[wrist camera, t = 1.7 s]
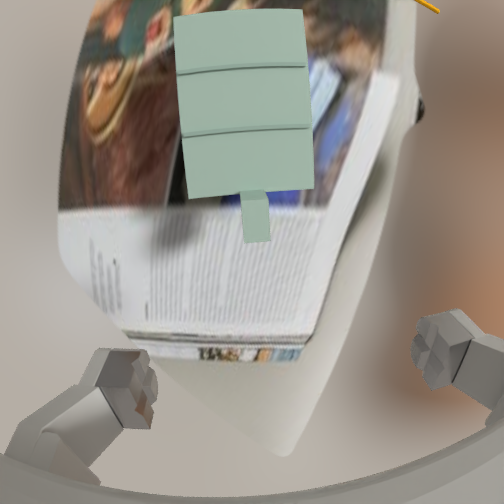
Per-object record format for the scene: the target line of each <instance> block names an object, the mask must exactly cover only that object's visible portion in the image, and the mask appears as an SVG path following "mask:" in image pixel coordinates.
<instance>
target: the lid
mask: <svg viewBox="0 0 504 504" xmlns="http://www.w3.org/2000/svg"><path fill="white" fill-rule="evenodd" d="M173 18H174V42H175V61H176V76H177V90H178V103H179V114H180V125H181V136H182V145H183V155H184V164H185V172H186V181H187V189H188V197H189V199H193V198H202V197H212V196H222V195H233V194H240V200H241V212H242V224H243V234H244V243H253V242H265V241H270V222H269V204H268V197H267V195H266V193H265V192H270V191H285V190H301V189H314V160H313V134H312V114H311V98H310V84H309V71H308V59H307V49H306V39H305V29H304V21H303V12H302V10H300V9H243V10H227V11H216V12H206V13H198V14H191V15H184V16H178V17H173Z"/></svg>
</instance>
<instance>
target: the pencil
mask: <svg viewBox="0 0 504 504" xmlns="http://www.w3.org/2000/svg"><path fill="white" fill-rule="evenodd" d="M415 1H416V2H418V3H420V4H421V5H423V6H425V7H427V8H429V9H430V10H432V11H433V12H435V13H437V14H438V13H439V11H440V10H439V9H438V8H436V7H434V6H433V5H431V4H429V3H427V2H426V1H424V0H415Z"/></svg>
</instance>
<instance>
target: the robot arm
mask: <svg viewBox="0 0 504 504" xmlns="http://www.w3.org/2000/svg"><path fill="white" fill-rule="evenodd" d="M416 330H417V332H418V334H417V335H416V337H415V338H414V339H413V340H412V344H411V357H412V360H413V363H414V364H415V366H416V367H417V368H419V369H421V370H423V378H424V380H425V381H426V383H427V384H428V386H429V387H430V389H431V391H432V390H435V389H438V388H441V387H444V386H447V385H450V384H452V385H453V386H454V387H456V388H457V389H459V390H460V391H462V392H464V393H465V394H467V395H468V396H470V397H471V398H473V399H475V400H476V401H478V402H479V403H481V404H482V405H484V406H485V407H487V408H489V409H490V410H492V412H491V413H490V415H489V416H488V418H487V419H486V422H485V425H486V426H487V427H486V428H484V429H482V430H480V431H478V432H477V433H475V434H473V435H471V436H469V437H467V438H465V439H463V440H461V441H459V442H457V443H455V444H453V445H451V446H449V447H446V448H444V449H442V450H440V451H437V452H435V453H433V454H430V455H428V456H425V457H423V458H421V459H418V460H415V461H413V462H410V463H407V464H404V465H402V466H399V467H396V468H393V469H390V470H387V471H384V472H380V473H377V474H374V475H370V476H367V477H364V478H359V479H356V480H352V481H347V482H343V483H339V484H335V485H330V486H325V487H320V488H315V489H308V490H303V491H296V492H289V493H281V494H271V495H260V496H247V497H181V496H167V495H157V494H148V493H139V492H133V491H126V490H120V489H114V488H109V487H104V486H100V483H101V481H100V480H99V478H98V477H97V476H96V475H95V474H94V473H93V472H92V471H91V470H90V469H89V468H88V467H89V466H90V465H91V464H92V463H93V462H94V461H95V460H96V459H97V458H98V457H99V456H100V455H101V453H102V452H103V451H104V450H105V449H106V448H107V447H108V446H109V445H110V444H111V443H112V442H113V440H114V439H115V438H116V437H117V436H118V435H119V434H120V433H121V432H122V431H123V428H131V429H150V428H151V423H152V419H153V414H154V411H153V409H152V407H151V405H152V404H153V403H154V402H155V401H156V400H157V395H158V382H157V377H156V374H155V371H154V370H153V369H151V368H150V367H149V362H150V358H149V355H148V353H147V351H146V350H144V349H117V348H114V349H111V348H99V349H97V350H96V351H95V352H94V354H93V356H92V358H91V360H90V362H89V364H88V366H87V368H86V370H85V372H84V374H83V377H82V378H81V380H80V383H79V384H78V385H73V386H71V387H70V388H68V389H67V390H66V391H64V392H63V393H61V394H60V395H58V396H57V397H56V398H54V399H53V400H51V401H50V402H48V403H47V404H46V405H44V406H43V407H41V408H40V409H38V410H37V411H35V412H34V413H33V414H31V415H30V416H28V417H27V418H25V419H24V420H22V421H21V422H20V423H19V424H18V426H17V429H16V431H15V432H14V434H13V437H12V439H11V441H10V443H9V445H8V447H7V449H6V452H5V454H4V455H3V454H1V453H0V504H504V339H501V338H499V337H496V336H493V335H491V334H486V335H485V334H484V332H483V331H482V330H481V329H480V328H479V327H477V325H476V324H475V323H474V322H473V321H472V320H471V319H470V318H469V317H467V315H466V314H464V313H463V312H462V311H461V310H460V309H457V308H456V309H452V310H449V311H445V312H443V313H439V314H434V315H430V316H426V317H422V318H420V319H419V321H418V322H417V326H416Z"/></svg>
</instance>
